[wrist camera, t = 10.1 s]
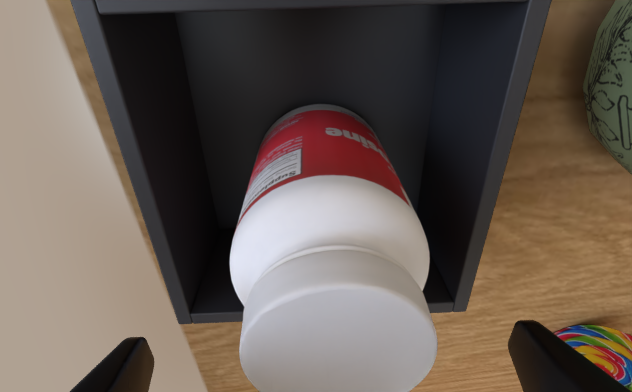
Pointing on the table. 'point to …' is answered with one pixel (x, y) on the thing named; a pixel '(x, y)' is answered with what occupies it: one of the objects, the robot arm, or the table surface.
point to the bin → (301, 90)
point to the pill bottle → (330, 262)
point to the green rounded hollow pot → (612, 84)
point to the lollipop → (603, 349)
